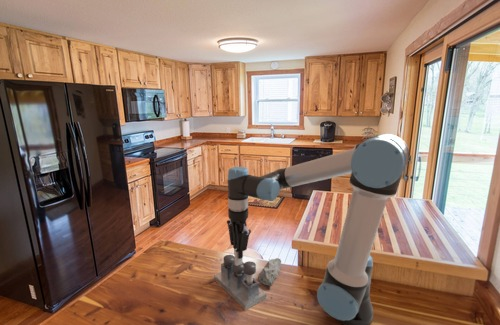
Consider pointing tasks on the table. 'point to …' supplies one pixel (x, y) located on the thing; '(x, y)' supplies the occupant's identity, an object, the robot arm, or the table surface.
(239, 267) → the knob
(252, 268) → the knob
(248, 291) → the square socket rack
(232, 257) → the knob
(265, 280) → the rock
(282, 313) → the table surface
